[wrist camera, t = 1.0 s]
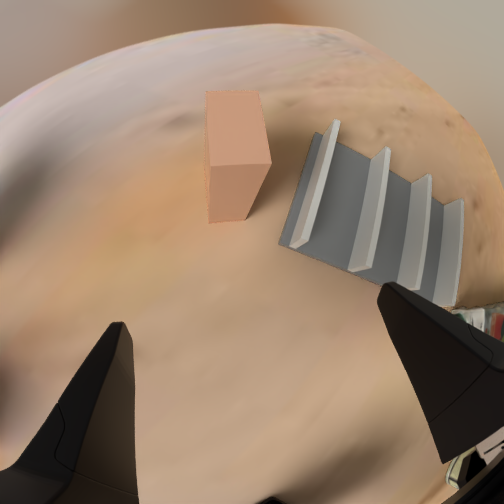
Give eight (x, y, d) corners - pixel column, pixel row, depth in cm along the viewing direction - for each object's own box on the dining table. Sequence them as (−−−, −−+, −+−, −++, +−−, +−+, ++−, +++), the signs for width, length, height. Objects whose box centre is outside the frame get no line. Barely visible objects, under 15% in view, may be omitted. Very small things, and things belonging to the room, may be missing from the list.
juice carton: (436, 390, 23) (474, 400, 17) (443, 308, 25) (484, 305, 19) (507, 359, 26) (534, 360, 21) (510, 299, 28) (538, 295, 22)
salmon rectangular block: (244, 220, 23) (271, 163, 13) (208, 223, 22) (210, 166, 13) (238, 166, 24) (258, 90, 14) (204, 168, 23) (205, 91, 13)
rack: (435, 308, 25) (458, 308, 21) (278, 244, 23) (290, 233, 19) (447, 212, 27) (467, 203, 24) (313, 135, 26) (326, 114, 22)
